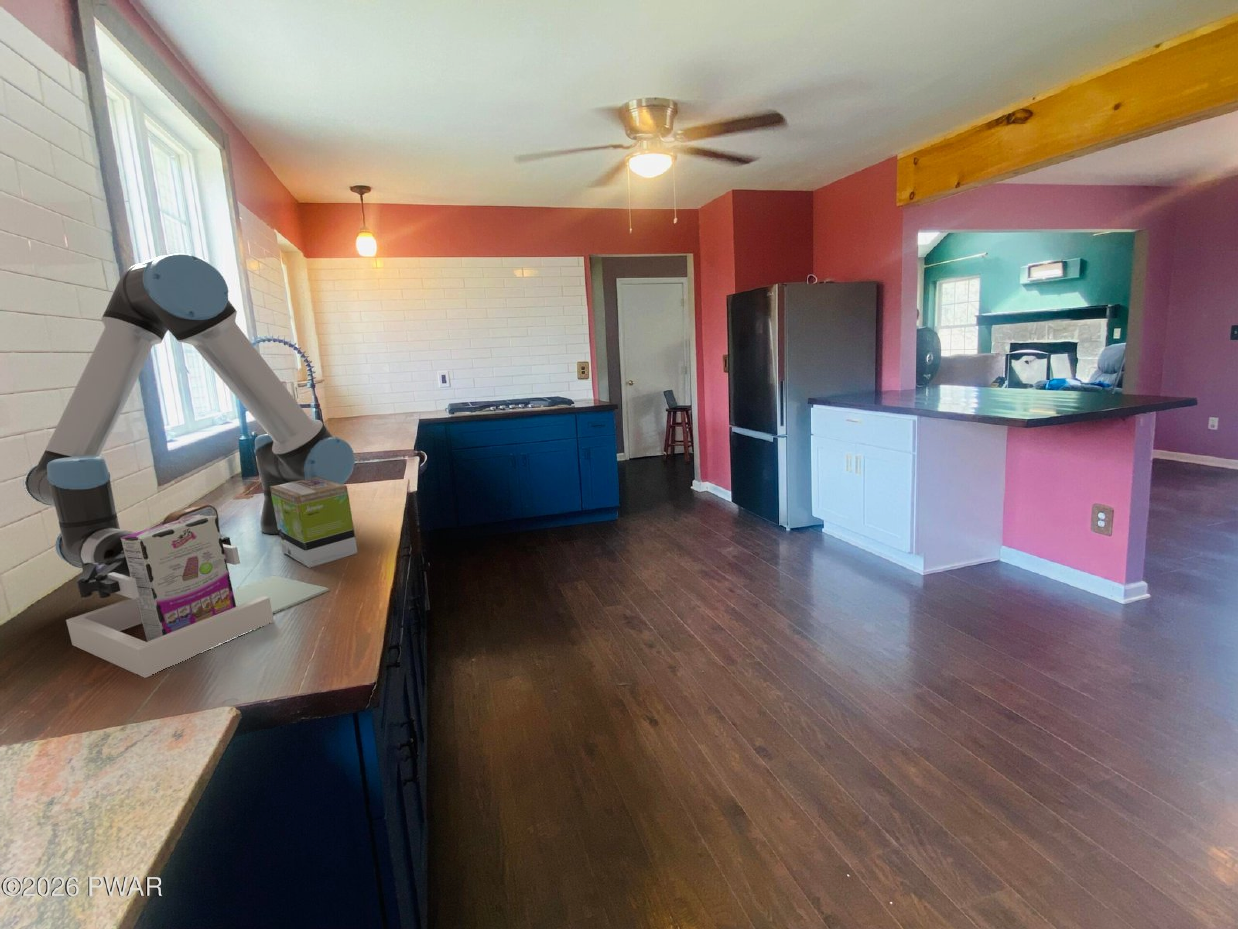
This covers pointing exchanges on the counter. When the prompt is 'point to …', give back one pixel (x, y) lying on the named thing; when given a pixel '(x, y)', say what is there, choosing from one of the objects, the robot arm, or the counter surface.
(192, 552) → the candy bar box
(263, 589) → the sage mat
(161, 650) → the white piece
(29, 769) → the counter surface
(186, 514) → the tin
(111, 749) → the counter surface
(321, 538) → the tea box
